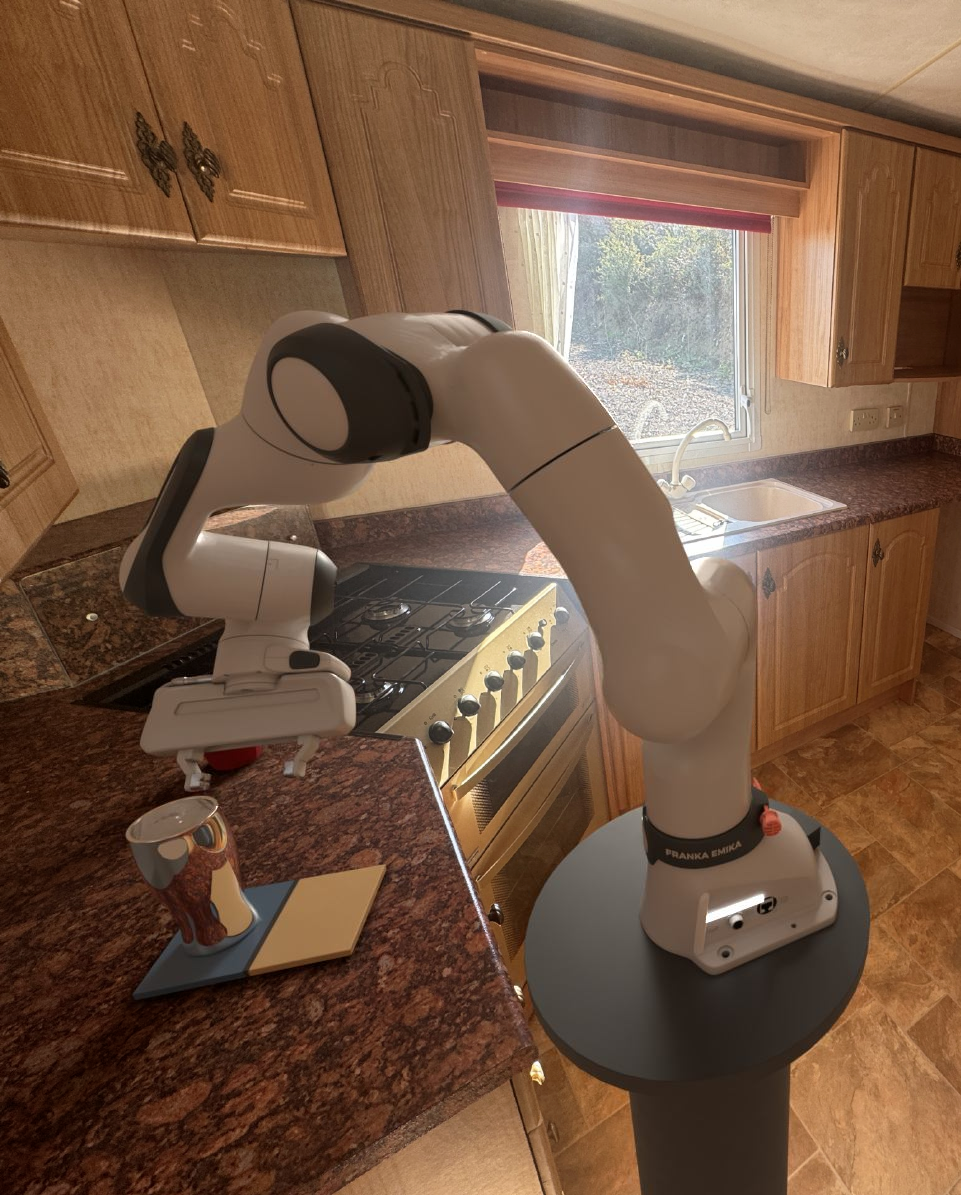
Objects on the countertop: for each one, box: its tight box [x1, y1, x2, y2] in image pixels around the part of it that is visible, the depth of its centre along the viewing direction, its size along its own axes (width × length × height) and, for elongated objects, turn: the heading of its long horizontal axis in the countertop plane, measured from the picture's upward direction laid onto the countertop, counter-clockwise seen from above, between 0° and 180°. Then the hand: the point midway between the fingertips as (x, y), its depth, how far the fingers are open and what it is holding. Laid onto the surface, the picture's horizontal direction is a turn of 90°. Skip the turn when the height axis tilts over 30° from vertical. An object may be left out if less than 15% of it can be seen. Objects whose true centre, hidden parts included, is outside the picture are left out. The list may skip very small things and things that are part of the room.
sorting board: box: [131, 863, 387, 1001], centre depth 67 cm, size 18×12×1 cm, turn 106°
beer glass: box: [125, 795, 259, 956], centre depth 63 cm, size 7×7×15 cm
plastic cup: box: [203, 745, 263, 771], centre depth 92 cm, size 11×11×12 cm
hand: (246, 783), depth 72 cm, fingers open, 8 cm apart
